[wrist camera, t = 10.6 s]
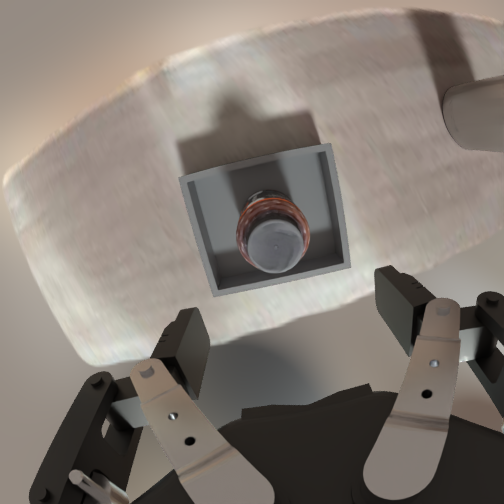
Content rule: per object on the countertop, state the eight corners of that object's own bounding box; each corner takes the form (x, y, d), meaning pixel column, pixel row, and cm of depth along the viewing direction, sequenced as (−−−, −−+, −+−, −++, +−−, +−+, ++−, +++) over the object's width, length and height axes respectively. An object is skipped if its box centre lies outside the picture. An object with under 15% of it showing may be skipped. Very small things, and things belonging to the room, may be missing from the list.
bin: (321, 144, 28) (330, 142, 24) (340, 255, 32) (351, 267, 28) (187, 175, 29) (178, 177, 26) (218, 281, 33) (213, 297, 30)
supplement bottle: (238, 191, 29) (227, 207, 18) (294, 186, 29) (317, 200, 18) (243, 245, 31) (237, 289, 20) (297, 240, 31) (318, 282, 20)
